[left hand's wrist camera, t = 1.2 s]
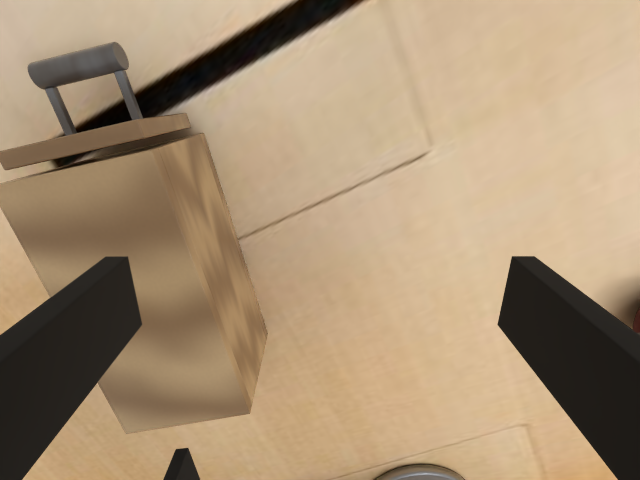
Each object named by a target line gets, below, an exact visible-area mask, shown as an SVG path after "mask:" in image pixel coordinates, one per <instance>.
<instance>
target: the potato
mask: <svg viewBox="0 0 640 480" xmlns="http://www.w3.org/2000/svg"><path fill="white" fill-rule="evenodd" d="M633 331H635V332H636V333H640V308H639V310H638V312H637V314H636V316H635V320H634V323H633Z"/></svg>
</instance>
